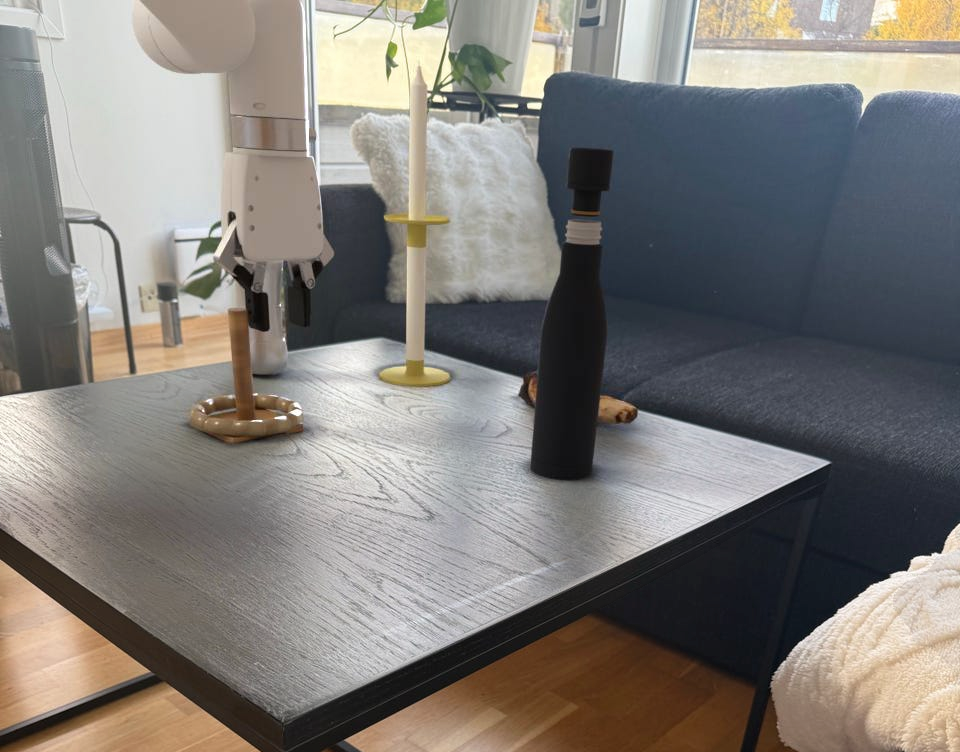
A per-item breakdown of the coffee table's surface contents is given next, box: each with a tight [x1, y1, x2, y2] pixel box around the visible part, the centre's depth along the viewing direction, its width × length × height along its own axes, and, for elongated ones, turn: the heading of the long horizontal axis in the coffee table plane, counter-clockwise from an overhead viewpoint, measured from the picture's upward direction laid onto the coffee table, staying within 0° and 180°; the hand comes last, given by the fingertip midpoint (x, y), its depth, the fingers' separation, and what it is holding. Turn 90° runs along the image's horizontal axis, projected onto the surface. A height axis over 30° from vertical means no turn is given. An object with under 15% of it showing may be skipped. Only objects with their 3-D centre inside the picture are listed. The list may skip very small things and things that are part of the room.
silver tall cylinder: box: [234, 257, 289, 376], centre depth 121 cm, size 6×7×20 cm
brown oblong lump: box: [517, 370, 639, 425], centre depth 113 cm, size 9×5×18 cm
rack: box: [189, 307, 304, 444], centre depth 100 cm, size 9×9×13 cm
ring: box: [189, 393, 305, 436], centre depth 102 cm, size 12×12×2 cm
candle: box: [378, 60, 452, 387], centre depth 119 cm, size 10×10×38 cm
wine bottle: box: [529, 147, 614, 481], centre depth 88 cm, size 6×6×30 cm
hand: (279, 325), depth 101 cm, fingers open, 4 cm apart
